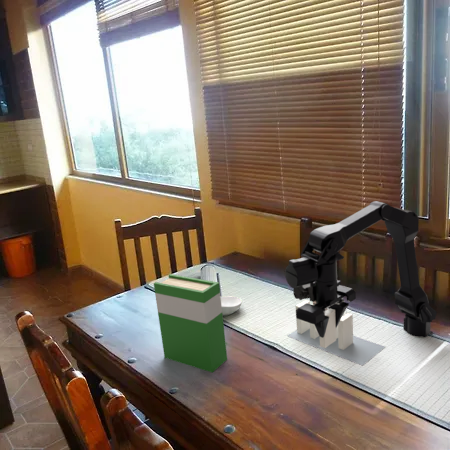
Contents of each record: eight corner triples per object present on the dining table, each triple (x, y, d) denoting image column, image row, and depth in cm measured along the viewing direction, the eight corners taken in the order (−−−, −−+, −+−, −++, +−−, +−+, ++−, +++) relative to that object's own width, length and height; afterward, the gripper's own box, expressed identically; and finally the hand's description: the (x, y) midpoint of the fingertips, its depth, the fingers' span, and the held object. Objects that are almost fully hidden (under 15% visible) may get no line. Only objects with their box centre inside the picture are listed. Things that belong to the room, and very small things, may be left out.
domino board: (385, 349, 131) (385, 346, 131) (362, 368, 124) (362, 365, 123) (311, 323, 150) (310, 320, 150) (287, 338, 142) (286, 335, 142)
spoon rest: (224, 301, 173) (223, 283, 171) (249, 308, 165) (247, 290, 164) (178, 328, 157) (175, 308, 155) (203, 337, 149) (201, 316, 147)
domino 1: (311, 327, 145) (309, 301, 143) (301, 334, 142) (299, 307, 140) (307, 326, 147) (305, 300, 144) (297, 332, 143) (295, 305, 141)
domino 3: (336, 340, 124) (335, 309, 122) (325, 348, 121) (323, 316, 119) (331, 338, 126) (330, 308, 123) (320, 346, 122) (318, 315, 120)
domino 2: (324, 332, 142) (323, 305, 139) (314, 339, 139) (313, 311, 136) (320, 330, 143) (319, 304, 141) (310, 337, 140) (308, 310, 137)
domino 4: (353, 342, 135) (352, 314, 132) (343, 349, 131) (342, 321, 129) (348, 341, 136) (347, 313, 133) (338, 348, 133) (337, 319, 130)
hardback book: (164, 357, 139) (153, 283, 132) (180, 345, 144) (170, 274, 138) (212, 372, 129) (203, 292, 122) (227, 359, 134) (219, 282, 128)
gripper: (321, 261, 130) (323, 311, 134) (277, 282, 118) (281, 337, 122) (356, 269, 122) (357, 322, 126) (313, 293, 110) (315, 351, 114)
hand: (327, 332), depth 123 cm, fingers closed on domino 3, 5 cm apart
